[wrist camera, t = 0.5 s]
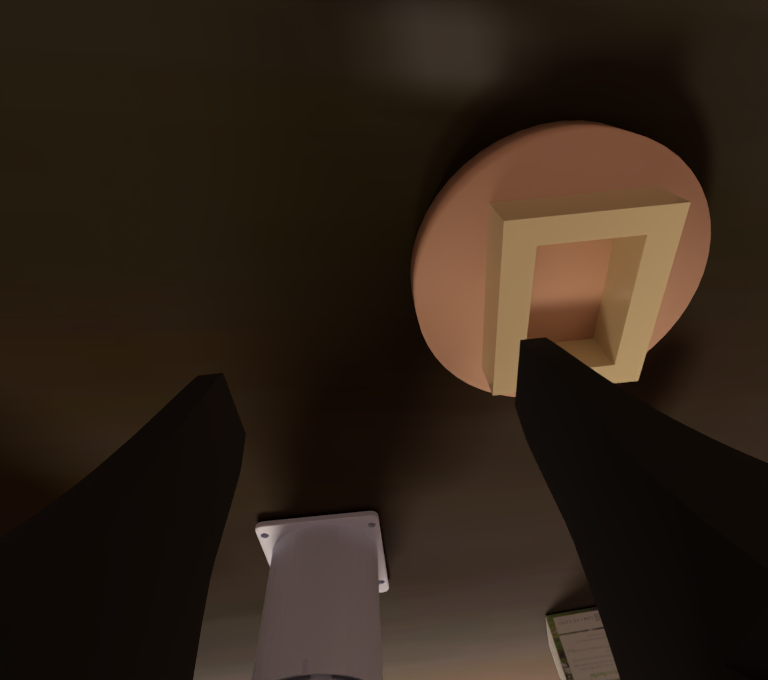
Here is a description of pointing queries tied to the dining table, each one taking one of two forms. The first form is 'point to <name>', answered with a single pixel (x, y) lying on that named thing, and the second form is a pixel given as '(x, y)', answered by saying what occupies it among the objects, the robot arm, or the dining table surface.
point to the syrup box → (580, 646)
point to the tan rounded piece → (559, 252)
